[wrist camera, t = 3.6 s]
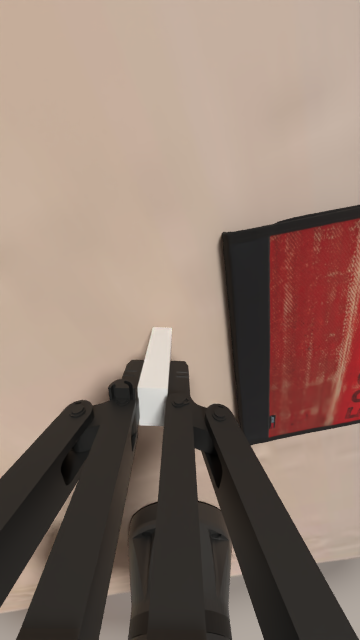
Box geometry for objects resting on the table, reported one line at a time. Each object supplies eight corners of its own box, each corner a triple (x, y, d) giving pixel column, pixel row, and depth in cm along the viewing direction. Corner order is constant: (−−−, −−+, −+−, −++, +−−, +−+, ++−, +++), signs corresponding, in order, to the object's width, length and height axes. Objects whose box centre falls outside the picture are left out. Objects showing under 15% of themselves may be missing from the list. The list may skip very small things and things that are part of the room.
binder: (244, 449, 21) (225, 232, 13) (237, 428, 24) (217, 231, 15) (402, 423, 21) (495, 177, 12) (380, 404, 23) (447, 185, 14)
